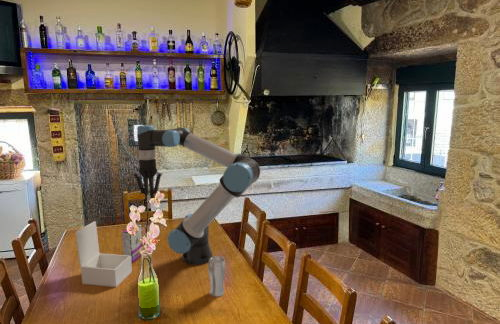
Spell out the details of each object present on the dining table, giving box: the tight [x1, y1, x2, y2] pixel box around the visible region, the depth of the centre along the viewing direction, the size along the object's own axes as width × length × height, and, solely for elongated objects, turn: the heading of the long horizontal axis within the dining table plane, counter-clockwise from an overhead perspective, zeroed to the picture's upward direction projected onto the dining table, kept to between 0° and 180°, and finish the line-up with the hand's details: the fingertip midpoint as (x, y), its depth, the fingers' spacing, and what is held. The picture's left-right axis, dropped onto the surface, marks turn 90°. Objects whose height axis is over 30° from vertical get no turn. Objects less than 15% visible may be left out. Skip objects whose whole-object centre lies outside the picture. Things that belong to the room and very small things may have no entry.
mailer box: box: [80, 252, 133, 288], centre depth 157 cm, size 16×14×8 cm
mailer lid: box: [74, 220, 100, 268], centre depth 157 cm, size 16×14×1 cm
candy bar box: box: [121, 224, 143, 264], centre depth 176 cm, size 11×5×16 cm, turn 169°
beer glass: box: [207, 255, 226, 298], centre depth 145 cm, size 7×7×15 cm
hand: (150, 207), depth 166 cm, fingers closed
